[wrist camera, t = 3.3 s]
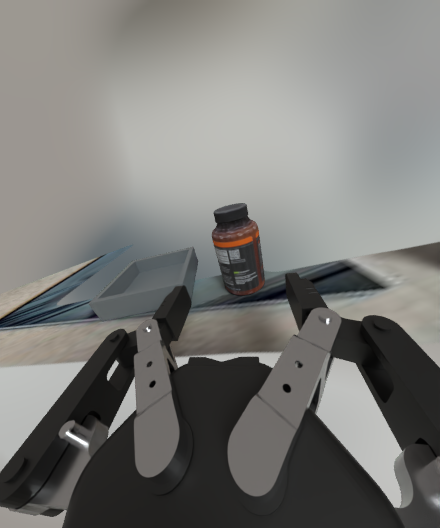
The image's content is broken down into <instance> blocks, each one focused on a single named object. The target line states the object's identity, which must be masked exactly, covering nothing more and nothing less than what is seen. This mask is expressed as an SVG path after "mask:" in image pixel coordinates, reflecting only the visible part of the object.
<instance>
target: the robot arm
mask: <svg viewBox="0 0 440 528" xmlns="http://www.w3.org/2000/svg"><path fill="white" fill-rule="evenodd" d="M285 279H286V294H287V299H288V301H289V304H290V307H291V310H292V312H293V315H294V318H295V321H296V323H297V326H298V329H299V334H298V335H297V336H296V335H293V336H292V338H291V339H290V341H289V343H288V344H287V346H286V348H285V349H284V351H283V353H282V354H281V356H280V358H279V360H278V361H277V363H276V364H275V366H274V368H271V367H269V366H267V365H265V364H262V363H259V357H238V358H234V359H231V360H227V361H224V362H220V361H216V360H213V359H209V358H206V357H190V358H189V361H188V364H185V365H183V366H181V367H179V368H178V367H177V363H176V360H175V357H174V354H173V351H172V348H171V345H170V343H171V341H178V338H179V336H180V333H181V331H182V328H183V325H184V323H185V320H186V318H187V315H188V313H189V310H190V308H191V298H190V296H189V293H188V291H187V288H186V286H185V285H182V286H175V288H174V289H173V291H172V292H171V293H169V294H168V295H167V296H166V297H165V299H164V300H163V302H162V303H161V305H160V306H159V308H158V310H157V311H156V313H155V314H154V316H153V318H152V319H150V320H147V321H145V322H144V323H142V324H141V325H140V326H139V327H138V329H137V330H136V331H133V332H130V333H126V331H125V330H124V329H119V330H116V331H114V332H112V333H111V334H110V335H108V336H107V337H106V339H105V340H104V341H103V342H102V344H101V345H100V346H99V348H98V349H97V350H96V351H95V353H94V354H93V355H92V356H91V358H90V359H89V360H88V362H87V363H86V364H85V366H84V367H83V368H82V369H81V370H80V372H79V373H78V374H77V376H76V377H75V378H74V379H73V381H72V382H71V383H70V384H69V386H68V387H67V388H66V390H65V391H64V392H63V394H62V395H61V396H60V397H59V398H58V400H57V401H56V402H55V404H54V405H53V406H52V407H51V409H50V410H49V412H48V413H47V414H46V415H45V416H44V418H43V419H42V420H41V421H40V423H39V424H38V425H37V426H36V428H35V429H34V430H33V432H32V433H31V434H30V435H29V437H28V438H27V439H26V440H25V442H24V443H23V444H22V446H21V447H20V448H19V450H18V451H17V452H16V453H15V454H14V456H13V457H12V458H11V460H10V461H9V462H8V464H7V465H6V466H5V467H4V469H3V470H2V471H1V473H0V506H1V507H6V508H8V509H9V510H10V511H14V512H19V513H25V514H30V515H39V514H40V515H45V516H50V517H54V516H57V515H58V514H60V513H61V512H63V511H64V510H67V512H66V516H65V520H64V524H63V527H62V528H440V368H439V367H438V366H437V364H435V362H434V361H433V360H432V359H431V358H430V357H429V356H428V355H427V354H426V353H425V352H424V351H423V350H422V349H421V348H420V347H419V345H418V344H417V343H416V342H415V341H414V340H413V339H412V338H411V337H410V336H409V335H408V334H407V333H406V332H405V331H404V330H403V329H402V328H401V327H400V326H399V325H398V324H397V323H396V322H394V321H392V320H390V319H388V318H385V317H382V316H376V315H370V316H366V317H364V318H363V320H362V321H356V320H350V319H345V318H342V317H340V316H339V315H338V314H337V313H336V312H335V311H333V310H331V309H329V308H328V307H327V305H326V304H325V302H324V301H323V299H322V297H321V296H320V294H319V293H318V291H317V290H316V289H315V287H314V285H313V284H312V282H310V281H309V280H307V279H306V278H305V279H300V277H299V276H298V274H297V273H288V274H285ZM334 358H339V359H343V360H346V361H350V362H354V363H356V365H357V367H358V369H359V371H360V372H361V374H362V376H363V378H364V380H365V382H366V384H367V385H368V387H369V389H370V391H371V393H372V395H373V397H374V399H375V400H376V402H377V404H378V406H379V408H380V410H381V412H382V414H383V416H384V418H385V419H386V421H387V423H388V425H389V427H390V428H391V431H392V432H393V434H394V436H395V438H396V440H397V442H398V444H399V446H400V447H401V449H402V451H403V452H402V453H401V454H400V455H399V456H398V457H397V458H396V460H395V463H394V471H395V475H396V478H397V481H398V484H399V486H400V490H401V497H402V501H401V506H400V508H394V507H393V505H392V504H391V502H390V501H389V499H388V498H387V496H386V495H385V494H384V493H383V491H382V490H381V488H380V487H379V486H378V485H377V483H376V482H375V481H374V480H373V479H372V477H371V476H370V475H369V474H368V473H367V472H366V471H365V470H364V469H363V467H362V466H361V465H360V464H359V463H358V462H357V460H355V458H354V457H353V456H352V455H351V454H350V453H349V451H348V450H347V449H346V448H345V447H344V446H343V445H342V444H341V442H340V441H339V440H338V439H337V438H336V437H335V436H334V434H333V433H332V432H331V431H330V430H329V429H328V428H327V426H326V425H325V424H324V423H323V422H322V421H321V420H320V418H319V417H318V416H317V415H316V413H317V410H318V407H319V404H320V401H321V398H322V394H323V390H324V387H325V383H326V381H327V378H328V375H329V372H330V369H331V366H332V363H333V361H334ZM115 360H117V361H118V363H119V364H118V366H117V368H116V369H115V371H114V373H113V374H112V376H111V378H110V380H109V381H108V380H107V374H108V371H109V370H110V368H111V367H112V365H113V363H114V362H115ZM134 377H135V388H136V406H137V409H136V410H135V411H134V412H133V413H132V414H131V415H130V416H129V417H128V419H126V420H125V421H124V423H123V424H122V425H121V426H120V427H119V428H118V429H117V430H116V431H115V432H114V433H113V434H112V435H111V436H110V437H109V438H108V439H107V437H108V430H109V428H110V426H111V424H112V422H113V420H114V417H115V416H116V414H117V411H118V409H119V407H120V405H121V403H122V401H123V399H124V397H125V395H126V393H127V391H128V389H129V387H130V385H131V383H132V380H133V379H134Z"/></svg>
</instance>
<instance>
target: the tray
mask: <svg viewBox="0 0 440 528" xmlns="http://www.w3.org/2000/svg"><path fill="white" fill-rule="evenodd" d="M197 265H198V260H197V257H196V254H195V250H194V248H193V247H191V248H187V249H182V250H178V251H174V252H169V253H165V254H160V255H156V256H152V257H148V258H143V259H139V260H134V261H132V262H131V263H130V264H129V265H128V266H127V267H126V268H125V269H124V270H123V271H122V272H121V273H120V274H119V275H117V276H116V277H115V279H113V280H112V282H110V283H109V284H108V285H107V286H106V287H105V288H104V289H103V290H102V291H101V292H100V293H99V294H98V295H97V296H96V297H95V298H94V299H93V300H92V301H91V302H90V303H89V305H90V307H91V308H92V309H93V310H94V312H95V313H96V314H97V315H98V317H99V318H100V319H101V320H102V321H107V320H112V319H117V318H122V317H127V316H131V315H136V314H141V313H146V312H151V311H155V310H158V308H159V306H160V305H161V303H162V302H163V300H164V299H165V297H166V296H167V295H168V294H169V293H171V292H172V291H173V289H174V288H175V286H182V285H185V286H186V288H187V291H188V293H189V296H190V298H192V292H193V287H194V281H195V276H196V270H197Z"/></svg>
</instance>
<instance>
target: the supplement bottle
mask: <svg viewBox="0 0 440 528" xmlns="http://www.w3.org/2000/svg"><path fill="white" fill-rule="evenodd" d="M247 215H248V212H247V205H246V204H245V203H239V204H232V205H228V206H224V207H222V208H219V209H217V210H215V211H214V216H215V222H216V223H217V226H216V228H215V229H214V230H213V232H212V239H213V243H214V247H215V251H216V254H217V258H218V262H219V266H220V269H221V273H222V277H223V280H224V284H225V287H226V289H227V290H228V291H229V292H230V293H232V294H235V295H249V294H252V293H255V292H257V291H258V290H259V289H261V288H262V286H263V285H264V281H265V278H264V269H263V261H262V254H261V246H260V237H259V230H258V226H257V224H256V222H254V221H253V220H250V219H249V218H248V216H247Z"/></svg>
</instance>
